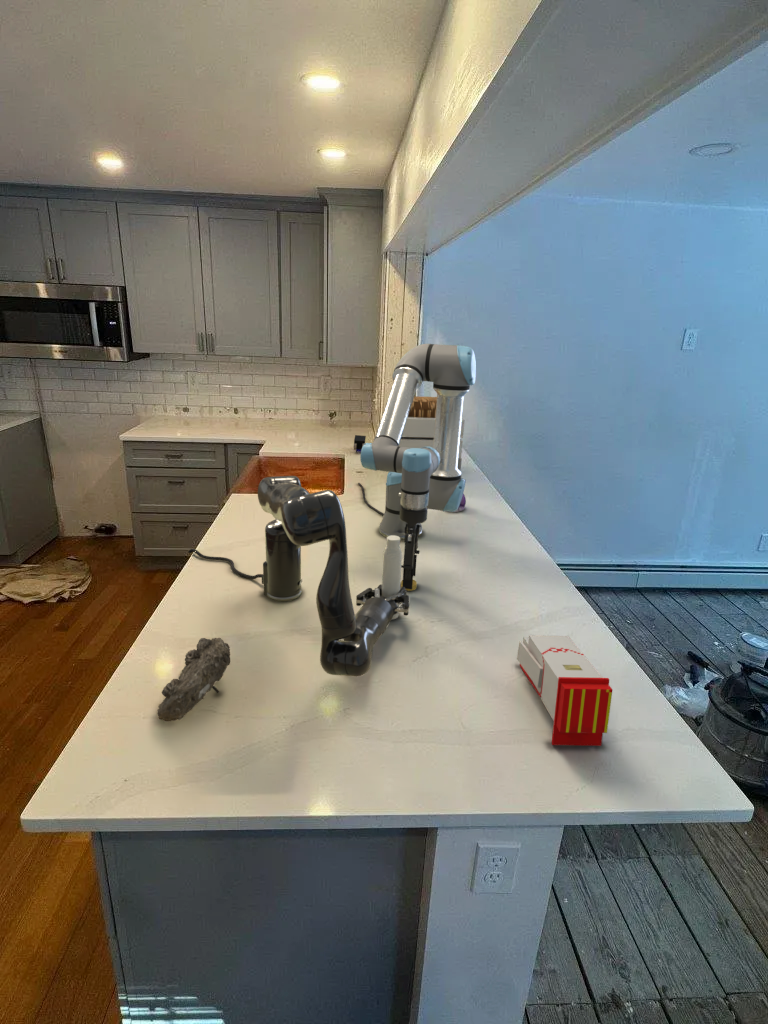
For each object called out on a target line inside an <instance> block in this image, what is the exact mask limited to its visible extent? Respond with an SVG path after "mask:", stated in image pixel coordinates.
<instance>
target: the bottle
mask: <svg viewBox="0 0 768 1024" xmlns="http://www.w3.org/2000/svg"><path fill="white" fill-rule="evenodd" d="M382 555H383V556H382V577H381V585H382V595H381V596H384V597H390V596H392V595H393V594H395V595H396V594H398V592H399V591H400V589H401V581H402V579H401V577H402V568H401V565H403V561H402V560H403V552H402V548H401V540H400V537H399V536H395V535H391V536H388V537H386V545H385V548H384V550H383V554H382ZM398 607H400V605H398ZM399 613H400V612H398V613H397V614H395V615H393V617H392V619H391V621H393V620H395V619H398V618H399V615H400V614H399Z"/></svg>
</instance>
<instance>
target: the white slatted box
mask: <svg viewBox="0 0 768 1024" xmlns="http://www.w3.org/2000/svg"><path fill="white" fill-rule="evenodd" d="M436 404H437V396H416V395H415V396H414V399H413V402H412V405H411V408H410V412H409V415H408V418H407V421H406V424H405V428H404V431H403V434H402V437H401V440H400V444H399V446H400V447H408V448H422V447H432V448H433V442H434V429H435V416H436ZM464 429H465V419H464V418H462V422H461V433H460V444H459V454H458V465H457V468H458V469H459V470H460V472H461V473H462V461H463V460H462V453H463V442H464V441H463V440H462V439H463V438H464V431H465V430H464Z"/></svg>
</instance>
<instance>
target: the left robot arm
mask: <svg viewBox="0 0 768 1024" xmlns="http://www.w3.org/2000/svg"><path fill="white" fill-rule="evenodd" d="M257 499H258V503H259V506H260V508H261V509H262V511H263V512H265V513H267V514H270V515H272V517H273V518H274V519H273V520H271V521H269V522H268V523H267V524H266V525H265V528H264V536H265V537H264V541H265V542H264V543H265V560H264V561H263V562H262V573H257V574H255V575H249V574H246V573H243V572H241V571H239V570H238V569H236V568H235V563H234V561H233V559H231V558H228V557H223V556H211V555H205V554H203V553H201V552H200V551H198V550H197V549H196V548H191V549H189V550H188V551H187V553H189V554H192V553H194V554H196V555H197V556H198V557H200V558H201V559H203V560H208V561H209V560H210V561H224V562H227V563H229V564H230V569H231V571H232V572H233V573H234V574H235V575H238V576H240V577H242V578H245V579H248V580H256V579H258V578H260V579H261V584H262V585H263V595H264V596H267V598H269V599H270V600H273V601H277V602H288V601H289V602H290V601H293V600H295V599H298V598H299V597H300V596H301V595H302V583H303V578H302V547H306V546H307V547H308V546H311V545H313V544H314V545H315V544H318V543H321V542H324V541H328V542H329V543H328V544H329V550H328V551H329V552H328V558H327V561H326V565H325V568H324V571H323V573H322V576H321V578H320V580H319V584H318V587H317V590H316V598H315V601H316V602H315V603H316V610H317V614H318V618H319V623H320V627H321V643H320V644H321V646H320V655H319V663H320V666H321V669H323V671H324V672H325V673H326V674H328V675H331V676H341V677H342V676H344V677H355V678H357V677H362V676H364V675H365V674H367V673H368V672H369V670H370V669H371V665H372V656H373V651H374V647H375V645H376V643H377V641H378V640H379V638H381V636H382V635H383V634H384V632H385V631H386V630H387V628H388V626H389V624H390V623H391V621H392V620H391V619H392V617H393V615H395V614H397V613H398V612H399V613H403V616H409V611H410V610H409V609H410V595H409V594H407V590H406V589H405V587H402V588H401V587H400V591H399V592H398V594H396V595H395V594H393V595H392V596H390V597H384V596H381V595H382V583H381V584H379V585H378V586H377V587H375V588H374V589H373V587H368V588H366V589H364V590H363V591H361V592H360V593H358V594H356V596H355V597H356V598H355V605H356V607H360V609H359V610H358V611H357V612H356V614H355V609H354V605H353V600H352V594H351V588H350V577H349V557H348V556H349V555H348V541H347V540H348V539H347V528H346V527H347V526H346V519H345V513H344V510H343V506H342V503H341V500H340V499H339V497H338V495H337V493H335V492H334V490H331V489H324V490H320V491H316V492H311V493H310V492H309V491H308V490H307V489H306V488H304V487H302V483H301V480H300V478H299V477H298V476H296V475H279V476H278V475H277V476H267V477H264V478H262V479H261V480H260V481H259V484H258V487H257ZM195 551H196V552H195ZM398 605H399V607H398Z"/></svg>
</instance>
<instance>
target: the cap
mask: <svg viewBox="0 0 768 1024" xmlns="http://www.w3.org/2000/svg"><path fill="white" fill-rule="evenodd" d="M402 585H403V579H401V581H400V589H401V588H402ZM417 585H418V583H417V581H416V580H415V579H413V584H412V589H406V591H409V592H410V591H415V590H417V587H418V586H417Z"/></svg>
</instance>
